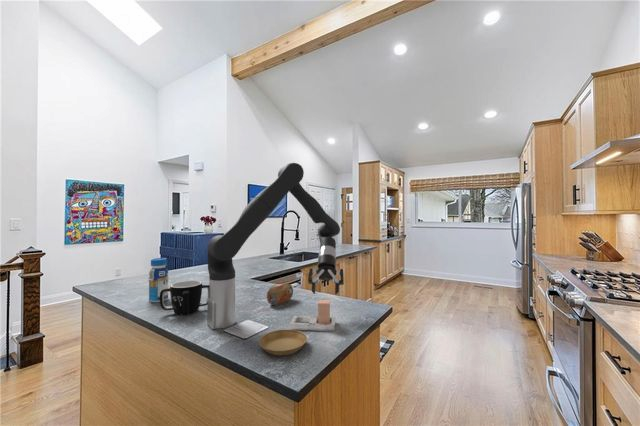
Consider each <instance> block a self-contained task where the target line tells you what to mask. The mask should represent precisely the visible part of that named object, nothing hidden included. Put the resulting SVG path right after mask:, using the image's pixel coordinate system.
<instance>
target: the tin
mask: <svg viewBox="0 0 640 426" xmlns="http://www.w3.org/2000/svg"><path fill="white" fill-rule="evenodd" d="M293 293H294V288H293V286H292V285H291V283H286V282H285V283H284V282H283V283H280V284H277V285H274V286H271V287H270V288H269V289H268V290H267V293H266V300H267V303H268V304H270V305H272V306H275V307H276V306H279V305H281V304H282V305H283V304H284V303H288V302H289V301H291V299H292V297H293Z"/></svg>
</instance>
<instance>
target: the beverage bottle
mask: <svg viewBox="0 0 640 426" xmlns="http://www.w3.org/2000/svg"><path fill="white" fill-rule="evenodd" d="M167 264H168V260H167V257H159V258H158V257H156V258H151V259H150V266H151V268H150V270H149V271H148V275H149V277H148V301H149V302H151V303H160V292H161V291H162V290H163V289H168V288H169V278H170V276H169V270H168V268H167ZM168 299H169V292H164V300H165V301H167V300H168Z"/></svg>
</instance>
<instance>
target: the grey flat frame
mask: <svg viewBox="0 0 640 426" xmlns="http://www.w3.org/2000/svg"><path fill="white" fill-rule="evenodd" d="M289 330H296V331H318V332H319V331H321V332H326V331H327V332H335V331H336V316H330V324H320V323H318V315H317V316H315V315H314V316H313V315H311V316H310V315H293V317H292V319H291V321H290V322H289Z"/></svg>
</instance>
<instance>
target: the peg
mask: <svg viewBox="0 0 640 426" xmlns="http://www.w3.org/2000/svg"><path fill="white" fill-rule="evenodd" d="M330 302H331V300H330V299H319V300H318V302H317V310H318V312H317V314H318V315H317V316H318V323H320V324H331V323H330V317H331V314H330V313H331V309H330V308H331V303H330Z"/></svg>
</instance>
